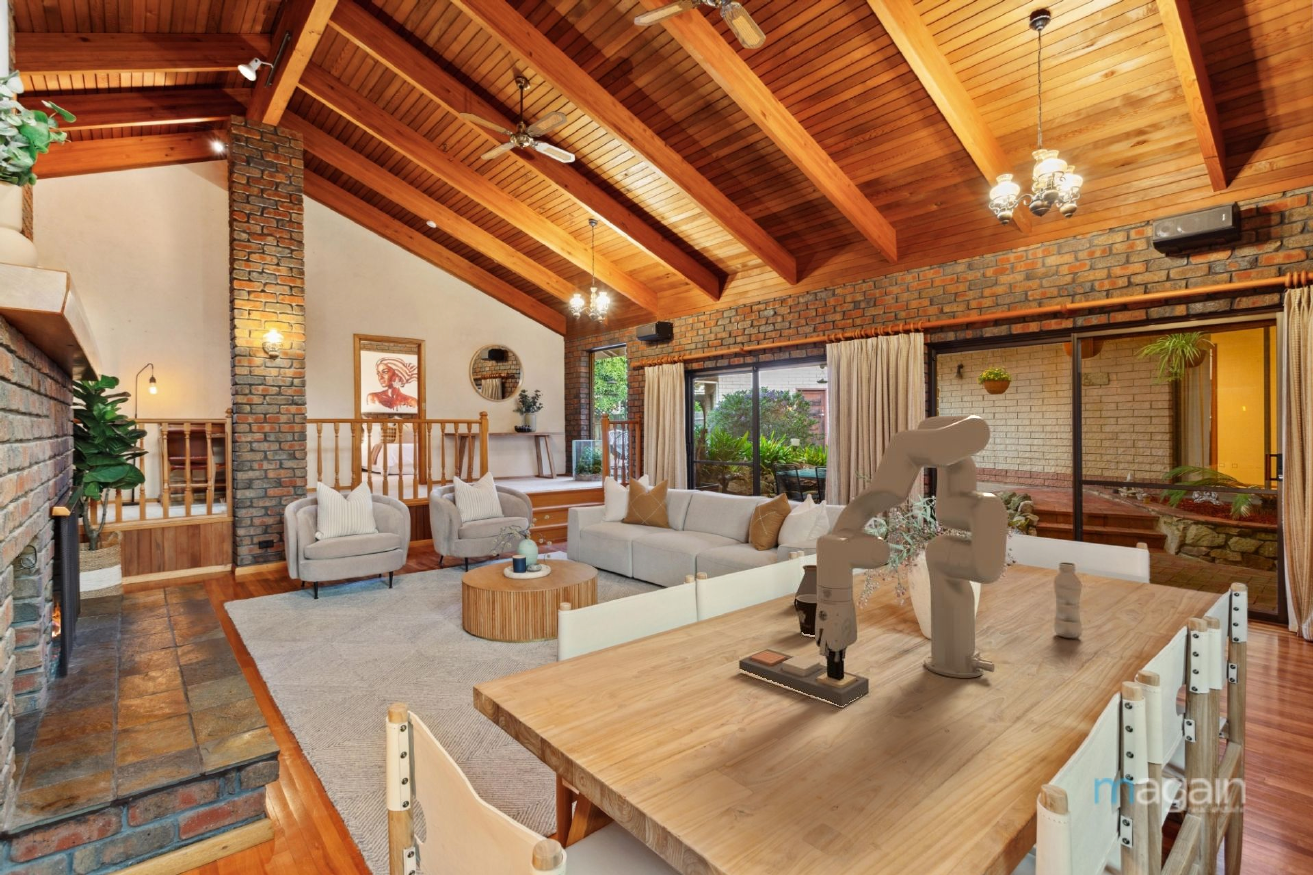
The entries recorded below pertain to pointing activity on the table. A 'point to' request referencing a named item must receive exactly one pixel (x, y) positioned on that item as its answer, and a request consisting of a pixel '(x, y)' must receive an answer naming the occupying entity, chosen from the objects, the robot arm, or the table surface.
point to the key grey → (801, 666)
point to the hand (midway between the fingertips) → (835, 677)
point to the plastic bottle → (1067, 602)
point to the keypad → (807, 681)
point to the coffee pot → (808, 581)
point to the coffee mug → (806, 612)
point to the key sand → (837, 681)
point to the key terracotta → (768, 658)
